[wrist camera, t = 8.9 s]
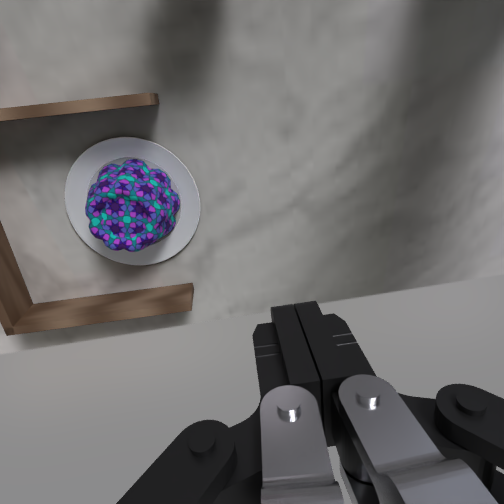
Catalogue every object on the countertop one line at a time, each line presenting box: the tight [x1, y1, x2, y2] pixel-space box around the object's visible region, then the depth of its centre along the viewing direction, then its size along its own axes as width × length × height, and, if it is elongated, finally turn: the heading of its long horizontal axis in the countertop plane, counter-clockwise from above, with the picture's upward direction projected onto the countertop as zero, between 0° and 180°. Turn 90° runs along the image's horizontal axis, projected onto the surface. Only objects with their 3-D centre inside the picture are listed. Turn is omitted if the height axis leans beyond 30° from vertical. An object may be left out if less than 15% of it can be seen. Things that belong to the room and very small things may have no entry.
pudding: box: [64, 137, 200, 265], centre depth 31 cm, size 12×12×5 cm
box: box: [0, 93, 194, 336], centre depth 31 cm, size 17×19×4 cm
